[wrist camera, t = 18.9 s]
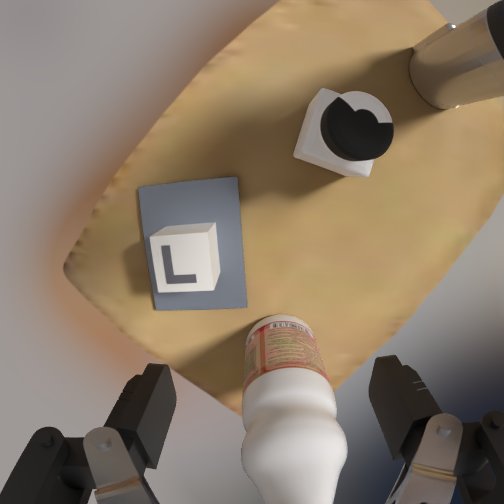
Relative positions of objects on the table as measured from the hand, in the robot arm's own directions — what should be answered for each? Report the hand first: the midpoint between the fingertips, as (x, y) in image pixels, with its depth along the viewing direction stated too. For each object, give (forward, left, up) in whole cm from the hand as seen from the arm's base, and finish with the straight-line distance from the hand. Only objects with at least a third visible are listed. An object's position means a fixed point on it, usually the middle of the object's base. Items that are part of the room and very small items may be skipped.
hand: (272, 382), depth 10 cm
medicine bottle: (-11, +9, -26) cm, 30 cm away
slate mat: (+1, -8, -26) cm, 27 cm away
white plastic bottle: (+15, +2, -26) cm, 30 cm away
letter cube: (+1, -8, -25) cm, 26 cm away
